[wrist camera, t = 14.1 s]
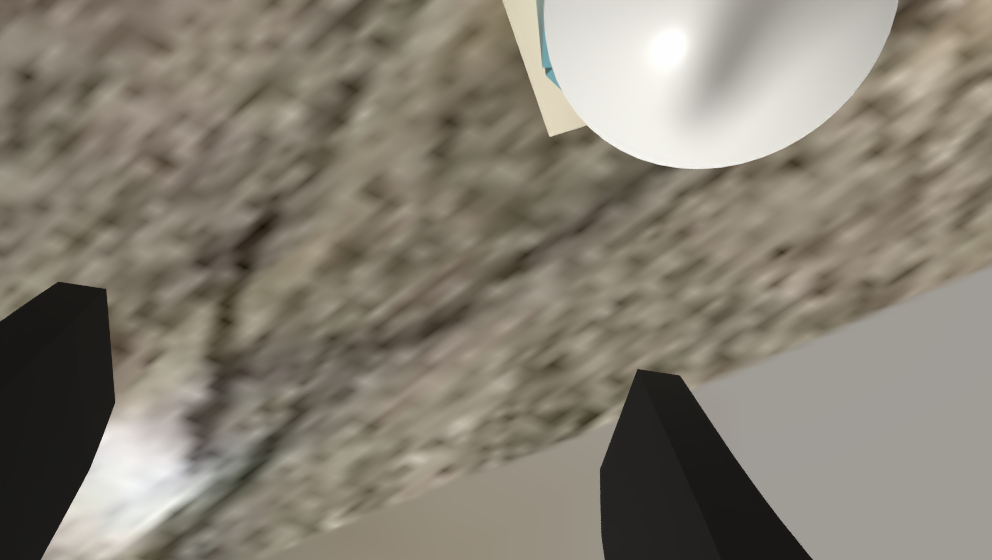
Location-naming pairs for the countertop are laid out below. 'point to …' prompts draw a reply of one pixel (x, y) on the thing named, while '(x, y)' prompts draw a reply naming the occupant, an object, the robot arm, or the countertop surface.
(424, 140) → the countertop surface
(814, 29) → the cap
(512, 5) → the stud
